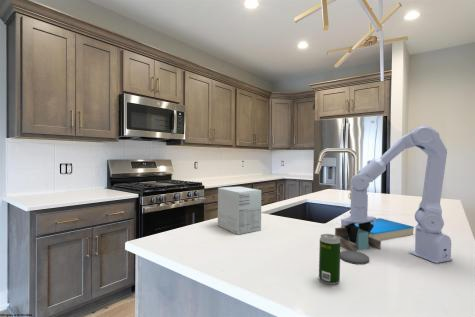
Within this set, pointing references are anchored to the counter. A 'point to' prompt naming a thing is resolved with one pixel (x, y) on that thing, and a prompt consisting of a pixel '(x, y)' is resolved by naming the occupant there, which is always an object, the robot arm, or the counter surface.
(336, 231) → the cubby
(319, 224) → the counter surface
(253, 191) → the supplement box
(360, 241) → the block
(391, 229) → the book
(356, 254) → the coaster
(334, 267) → the beer can
